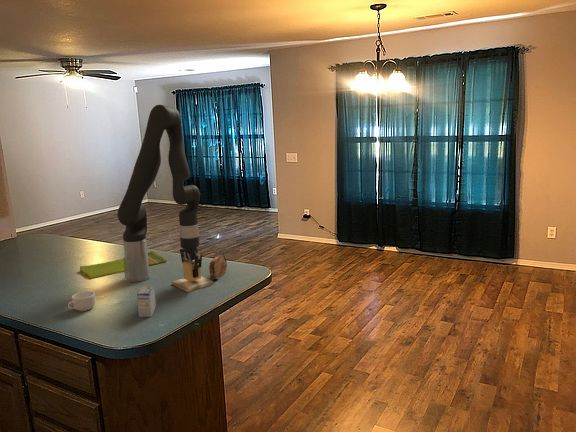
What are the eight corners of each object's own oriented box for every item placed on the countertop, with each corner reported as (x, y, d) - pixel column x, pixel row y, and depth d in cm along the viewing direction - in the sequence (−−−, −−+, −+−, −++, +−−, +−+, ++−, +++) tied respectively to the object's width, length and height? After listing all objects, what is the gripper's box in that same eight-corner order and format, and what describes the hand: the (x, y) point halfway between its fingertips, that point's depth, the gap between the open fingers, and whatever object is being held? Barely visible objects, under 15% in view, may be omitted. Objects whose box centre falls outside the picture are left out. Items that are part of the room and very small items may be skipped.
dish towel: (167, 263, 219) (167, 256, 219) (90, 280, 197) (89, 273, 196) (153, 256, 231) (153, 250, 230) (79, 272, 208) (78, 265, 208)
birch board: (187, 291, 180) (186, 288, 180) (172, 284, 189) (172, 281, 188) (213, 284, 188) (212, 281, 187) (197, 277, 196) (197, 274, 196)
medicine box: (143, 308, 165) (141, 285, 163) (156, 307, 165) (154, 284, 163) (138, 317, 157) (136, 293, 155) (152, 316, 157) (149, 293, 156)
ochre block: (190, 281, 184) (189, 264, 183) (184, 278, 188) (182, 262, 187) (201, 278, 188) (200, 261, 186) (194, 275, 191) (193, 259, 190)
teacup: (88, 303, 171) (87, 289, 170) (101, 307, 167) (99, 293, 166) (63, 312, 163) (61, 298, 162) (75, 317, 159) (73, 302, 157)
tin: (215, 282, 190) (214, 262, 188) (208, 282, 191) (207, 262, 189) (227, 270, 204) (226, 252, 203) (220, 270, 205) (219, 252, 203)
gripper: (207, 236, 181) (209, 277, 185) (188, 230, 192) (191, 269, 195) (190, 240, 176) (193, 282, 180) (172, 234, 187) (175, 273, 190)
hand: (192, 275), depth 187 cm, fingers closed on ochre block, 5 cm apart
